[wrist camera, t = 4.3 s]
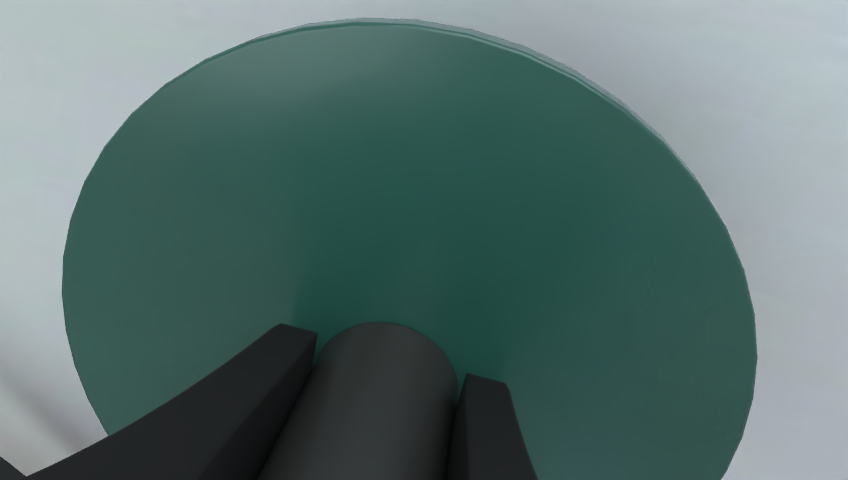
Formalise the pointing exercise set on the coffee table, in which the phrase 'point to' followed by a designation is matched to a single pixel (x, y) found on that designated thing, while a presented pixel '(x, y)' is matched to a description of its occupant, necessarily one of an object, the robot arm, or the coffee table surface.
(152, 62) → the coffee table surface
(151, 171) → the lid
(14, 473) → the knife
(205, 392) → the robot arm
